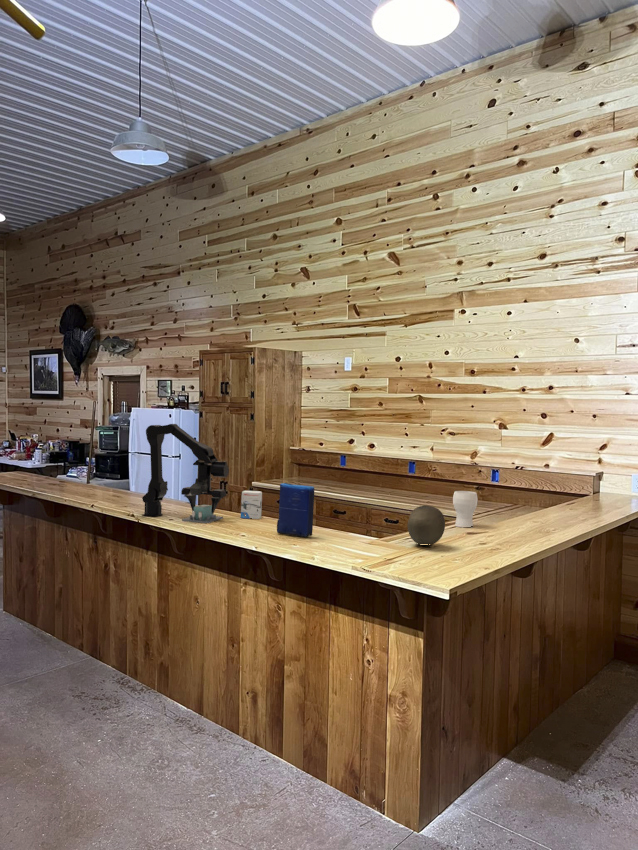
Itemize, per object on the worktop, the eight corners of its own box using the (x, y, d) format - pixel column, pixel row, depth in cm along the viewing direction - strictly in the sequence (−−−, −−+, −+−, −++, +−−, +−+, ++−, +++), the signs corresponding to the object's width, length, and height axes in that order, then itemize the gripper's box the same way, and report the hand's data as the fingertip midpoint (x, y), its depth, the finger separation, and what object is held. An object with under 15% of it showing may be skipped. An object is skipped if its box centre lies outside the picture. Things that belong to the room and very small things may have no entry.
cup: (446, 525, 282) (448, 491, 282) (461, 523, 289) (462, 490, 289) (467, 529, 274) (468, 494, 274) (481, 527, 281) (482, 492, 281)
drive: (193, 518, 273) (193, 506, 273) (202, 516, 280) (203, 504, 280) (202, 519, 271) (203, 507, 271) (211, 516, 279) (212, 505, 279)
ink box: (240, 518, 282) (241, 491, 282) (242, 516, 287) (243, 490, 287) (259, 519, 282) (260, 492, 281) (261, 517, 287) (262, 491, 286)
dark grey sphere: (399, 543, 240) (400, 503, 240) (432, 541, 245) (433, 502, 245) (418, 551, 227) (419, 509, 227) (452, 549, 232) (454, 508, 232)
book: (274, 534, 249) (276, 483, 249) (282, 532, 254) (283, 481, 253) (307, 539, 242) (309, 486, 242) (313, 536, 247) (315, 485, 247)
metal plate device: (182, 520, 271) (182, 510, 271) (198, 516, 284) (198, 506, 284) (207, 523, 267) (207, 513, 267) (222, 518, 280) (223, 508, 280)
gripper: (175, 476, 271) (174, 513, 271) (214, 479, 265) (213, 516, 265) (188, 474, 281) (187, 509, 282) (227, 476, 275) (225, 513, 276)
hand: (203, 512), depth 276 cm, fingers open, 9 cm apart
